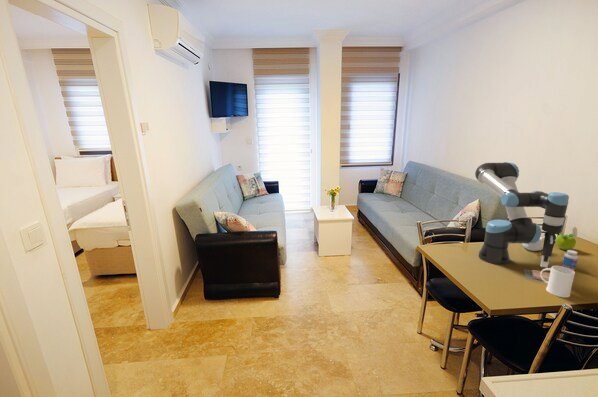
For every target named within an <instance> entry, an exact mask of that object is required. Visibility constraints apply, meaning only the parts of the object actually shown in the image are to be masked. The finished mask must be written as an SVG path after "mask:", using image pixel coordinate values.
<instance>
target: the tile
mask: <svg viewBox="0 0 598 397" xmlns="http://www.w3.org/2000/svg"><path fill="white" fill-rule="evenodd" d="M531 271H532V277H533V278H535V279H539V280H542V279H541V277H540V272H541V271H542V270H536V269H531ZM541 275H542V277H543V279H544V280H546V281H549V276H550V272H546V271H543V272H542V274H541Z"/></svg>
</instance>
